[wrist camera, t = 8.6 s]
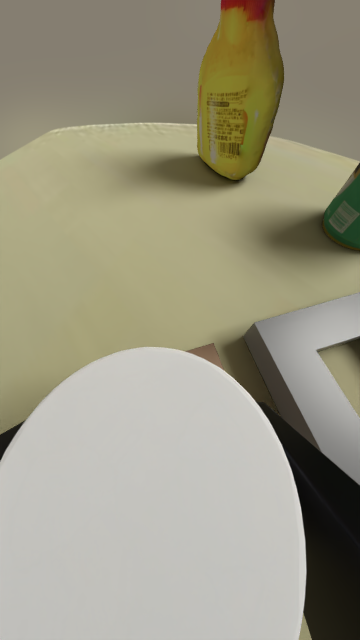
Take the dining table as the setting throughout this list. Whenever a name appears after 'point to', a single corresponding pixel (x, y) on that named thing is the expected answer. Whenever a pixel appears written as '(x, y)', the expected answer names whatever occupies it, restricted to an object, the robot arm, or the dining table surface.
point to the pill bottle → (149, 509)
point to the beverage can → (345, 214)
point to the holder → (311, 375)
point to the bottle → (239, 88)
